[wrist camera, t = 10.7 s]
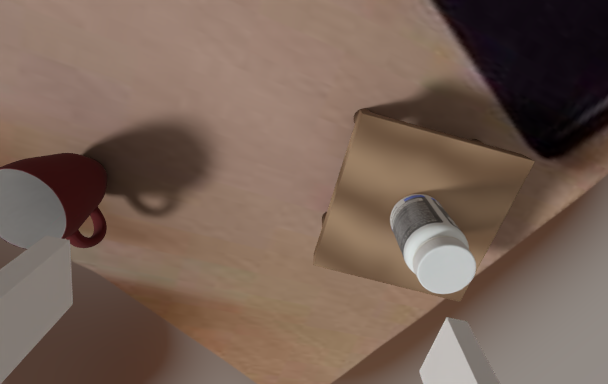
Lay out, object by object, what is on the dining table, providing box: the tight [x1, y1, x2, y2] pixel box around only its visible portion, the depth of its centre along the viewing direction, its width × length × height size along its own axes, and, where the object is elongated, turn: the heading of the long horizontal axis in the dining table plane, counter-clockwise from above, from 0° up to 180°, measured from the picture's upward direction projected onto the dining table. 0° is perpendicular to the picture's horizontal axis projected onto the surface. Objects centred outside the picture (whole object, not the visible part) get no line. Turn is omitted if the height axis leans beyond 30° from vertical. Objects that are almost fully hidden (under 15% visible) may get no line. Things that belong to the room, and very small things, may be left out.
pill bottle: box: [390, 194, 476, 294], centre depth 28 cm, size 5×5×8 cm
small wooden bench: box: [313, 109, 535, 302], centre depth 36 cm, size 15×15×8 cm
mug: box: [0, 153, 107, 249], centre depth 36 cm, size 10×8×10 cm
